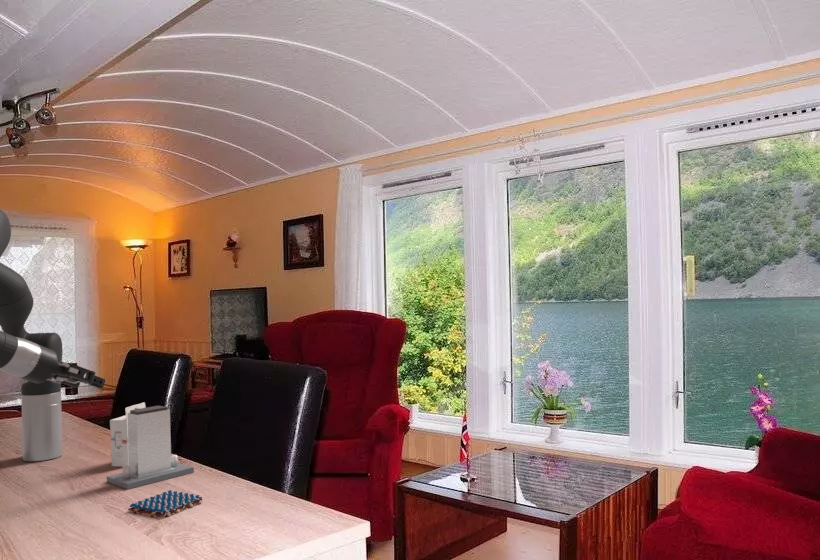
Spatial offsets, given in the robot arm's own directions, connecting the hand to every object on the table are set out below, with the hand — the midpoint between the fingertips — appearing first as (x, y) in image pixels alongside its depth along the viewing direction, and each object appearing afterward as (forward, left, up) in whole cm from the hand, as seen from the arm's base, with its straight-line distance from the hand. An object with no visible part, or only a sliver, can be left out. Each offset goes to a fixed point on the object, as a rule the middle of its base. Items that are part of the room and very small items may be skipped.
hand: (90, 383), depth 146 cm
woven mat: (+20, +22, -23) cm, 38 cm away
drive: (-3, +12, -21) cm, 24 cm away
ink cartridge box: (-18, +2, -23) cm, 29 cm away
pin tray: (-3, +12, -23) cm, 26 cm away
